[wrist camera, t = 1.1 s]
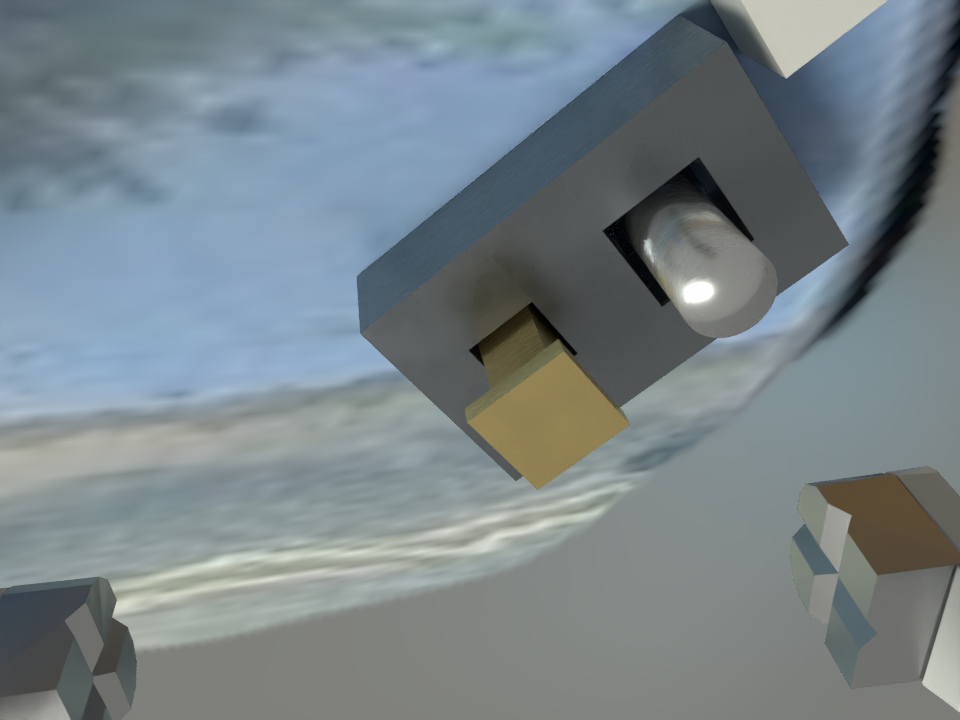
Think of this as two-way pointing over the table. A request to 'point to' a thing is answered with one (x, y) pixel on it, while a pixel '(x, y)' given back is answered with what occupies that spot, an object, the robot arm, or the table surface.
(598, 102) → the socket block
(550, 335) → the wooden tenon block
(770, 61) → the cream square open frame
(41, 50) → the table surface
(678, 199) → the metal cylinder
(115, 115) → the table surface
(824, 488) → the robot arm
